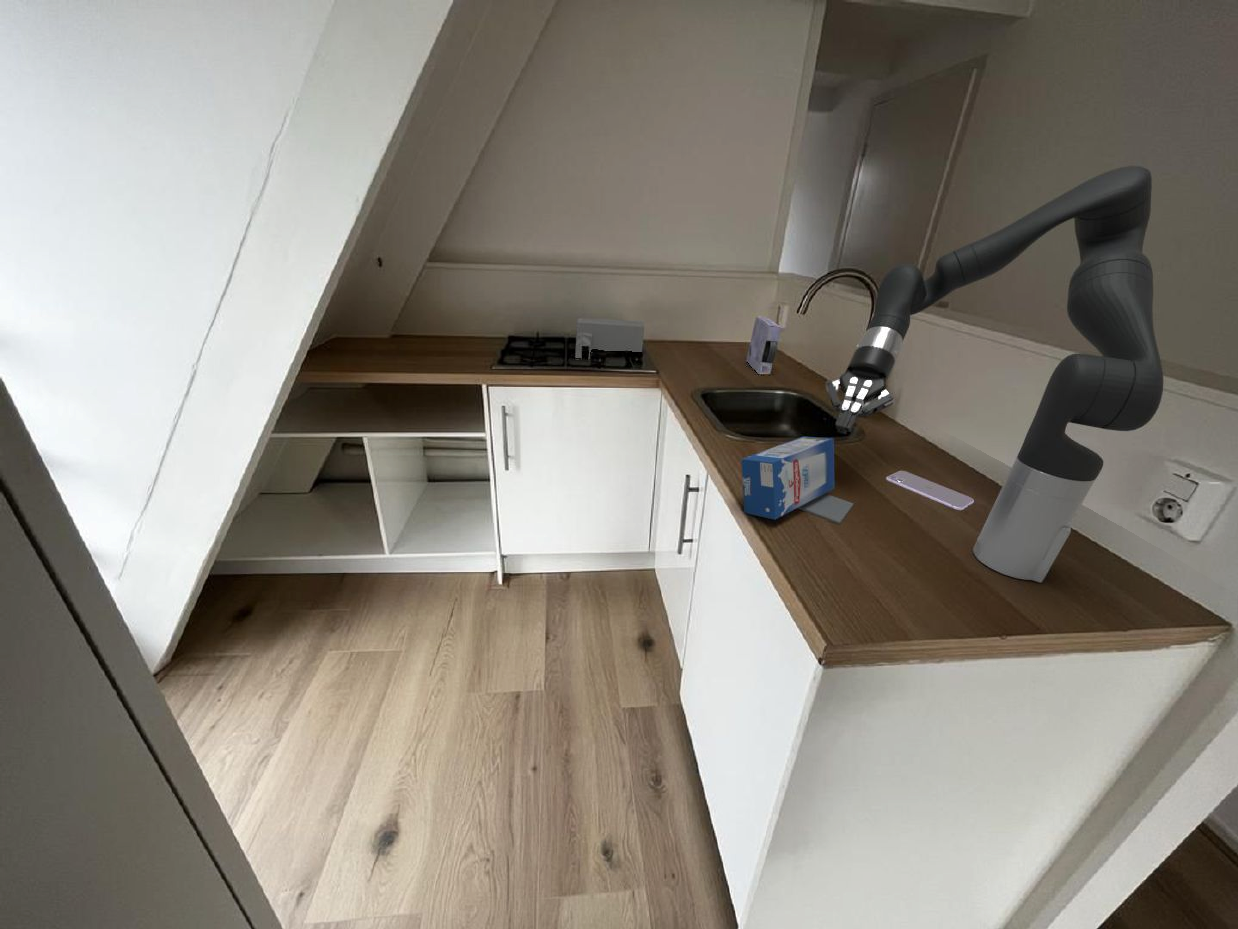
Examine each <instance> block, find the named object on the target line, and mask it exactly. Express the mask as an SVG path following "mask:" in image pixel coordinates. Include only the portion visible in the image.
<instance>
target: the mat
mask: <svg viewBox="0 0 1238 929" xmlns="http://www.w3.org/2000/svg"><path fill="white" fill-rule="evenodd" d="M853 506H854V503H853V502H851V501H847V500H844V499H842V498H839V497H836V496H834V495H831V494H827V493H824V494H823V495H821V496H819V497H817V498H815V499H813V500H811V501H809V502H807V503H805V504H803V505H802V506H800V507H798V508H797V509H798V510H799V511H803V512H806V513H808V514H811V515H813V516H816V517H819V518H821V519H825V520H827V521H829V522H832V523H834V524H837V525H841V523H842V521H843V520H844V518H845V517H846V516H847V514H848V513H849V512H850V511H851V509H852V508H853Z"/></svg>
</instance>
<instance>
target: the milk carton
mask: <svg viewBox="0 0 1238 929" xmlns="http://www.w3.org/2000/svg"><path fill="white" fill-rule="evenodd" d="M834 440H835V439H834V438H828V437H816V436H801V437H798V438H796V439H793V440H789V441H787V442H785V443H782V444H778V445H777V446H774V447H770V448H768V449H764V450H763V451H761V452H758V453H754V454H751V455H750V456H747V457H744V458H741V474H742V489H743V490H742V491H743V492H742V493H743V507H744V508H743V510H744V513H745V514H746V515H747V514H749V515H753V516H757V517H762V518H767V519H771V520H774V521H775V520H777V519H778V518H780V517H783V516H784V515H787V514H788V513H790V512H793V511H795V510H796V509H798V507H800V506H802V505H803V504H805V503H807V502H809V501H811V500H813V499H815V498H817V497H819V496H821V495H823V494H824V493H825V494H827V493H829V492H830V491H832V490H833V489H835V452H834V451H835V449H834V448H835V445H834V444H835V441H834Z"/></svg>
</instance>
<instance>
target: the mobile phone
mask: <svg viewBox="0 0 1238 929" xmlns="http://www.w3.org/2000/svg"><path fill="white" fill-rule="evenodd" d="M885 480H886V481H888V482H891V483H892V484H895V485H897V486H900V487H902V488H904V489H906V490H910V491H912V492H913V493H915V494H919V495H922V497H925V498H928V499H930V500H932V501H934V502H938V503H939V504H941V505H942V504H943V505H945V506H946V507H949V508H952V509H954V510H958V511H963V510H965V509H966V508H968V507H969V506H971V505H972V504H974V502H975V500H974V498H972V497H971V496H969V495H966V494H963V493H960V492H958V491H955V490H954V489H950V488H947V487H945V486H943V485H940V484H939V483H936V482H933V481H931V480H928V479H926V478H923V477H921V476H919V475H916V474H913V473H911V472H908V471H906V470H899V471H896V472H895V473H892V474H890V475H888V476H886V477H885Z"/></svg>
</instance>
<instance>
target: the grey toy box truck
mask: <svg viewBox="0 0 1238 929" xmlns="http://www.w3.org/2000/svg"><path fill="white" fill-rule="evenodd" d="M577 318H578V319H577V322H576V323H577V324H576V336H575V337H576V338H575V358H581V359H582V355H583V354H582V351H589V354H588V360H589V359H590V360H591V355H590V352H591V350H592V349H598V350H604V351H626V350H627V351H632V352H642V353H643V347H644V346H643V345H644V344H643V343H644V335H645V334H644V333H645V325H644V323H643V321H637V320H623V319H610V318H608V319H607V318H595V317H580V316H579V317H577ZM591 353H592V352H591Z"/></svg>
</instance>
